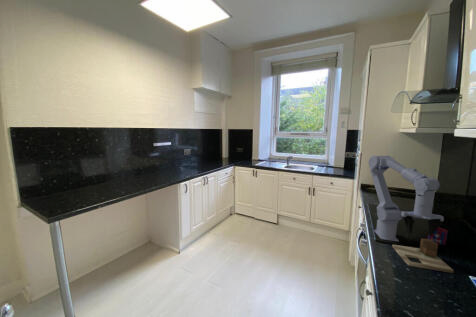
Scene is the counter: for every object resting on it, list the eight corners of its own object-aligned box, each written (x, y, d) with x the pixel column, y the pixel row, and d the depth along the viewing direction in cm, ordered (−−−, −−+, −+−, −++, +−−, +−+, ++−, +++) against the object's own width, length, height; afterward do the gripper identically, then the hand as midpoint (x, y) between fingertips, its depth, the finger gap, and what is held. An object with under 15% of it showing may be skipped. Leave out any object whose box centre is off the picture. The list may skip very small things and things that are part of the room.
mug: (426, 240, 101) (428, 228, 100) (428, 234, 107) (430, 222, 106) (445, 246, 96) (447, 233, 95) (446, 239, 102) (448, 227, 101)
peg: (419, 250, 90) (421, 238, 89) (429, 252, 89) (431, 239, 88) (424, 255, 86) (426, 243, 85) (436, 257, 85) (438, 244, 84)
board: (392, 246, 95) (392, 243, 95) (429, 252, 91) (430, 249, 91) (408, 265, 82) (408, 262, 82) (453, 273, 78) (453, 269, 78)
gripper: (409, 205, 84) (404, 235, 86) (451, 210, 80) (445, 240, 82) (400, 200, 91) (396, 227, 93) (438, 204, 87) (434, 232, 89)
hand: (419, 233), depth 88 cm, fingers open, 7 cm apart
